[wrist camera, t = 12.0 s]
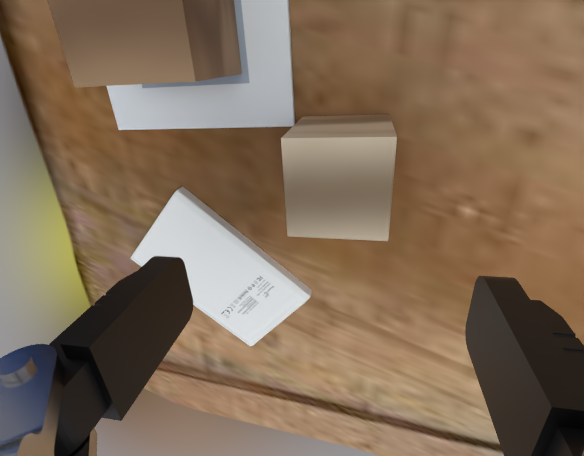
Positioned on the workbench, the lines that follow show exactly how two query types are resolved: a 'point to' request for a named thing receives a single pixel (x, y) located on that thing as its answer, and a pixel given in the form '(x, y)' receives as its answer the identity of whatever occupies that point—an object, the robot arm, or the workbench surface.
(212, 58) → the walnut block
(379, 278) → the workbench surface
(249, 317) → the external hard drive
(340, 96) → the workbench surface
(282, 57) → the white square plate
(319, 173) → the maple block
